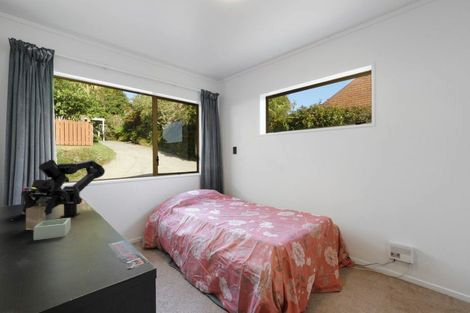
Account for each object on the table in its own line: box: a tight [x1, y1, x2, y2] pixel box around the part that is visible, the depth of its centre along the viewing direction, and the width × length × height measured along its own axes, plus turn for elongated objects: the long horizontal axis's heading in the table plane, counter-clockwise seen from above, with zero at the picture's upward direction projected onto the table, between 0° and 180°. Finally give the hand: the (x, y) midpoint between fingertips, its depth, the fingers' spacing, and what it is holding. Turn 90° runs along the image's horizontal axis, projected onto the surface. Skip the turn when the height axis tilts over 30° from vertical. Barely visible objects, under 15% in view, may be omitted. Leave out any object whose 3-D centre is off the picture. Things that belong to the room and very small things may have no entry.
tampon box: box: [21, 186, 53, 216], centre depth 121 cm, size 11×9×15 cm
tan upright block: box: [25, 207, 47, 231], centre depth 97 cm, size 4×5×9 cm
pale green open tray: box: [33, 217, 72, 241], centre depth 89 cm, size 10×10×5 cm
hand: (34, 212), depth 96 cm, fingers open, 9 cm apart
